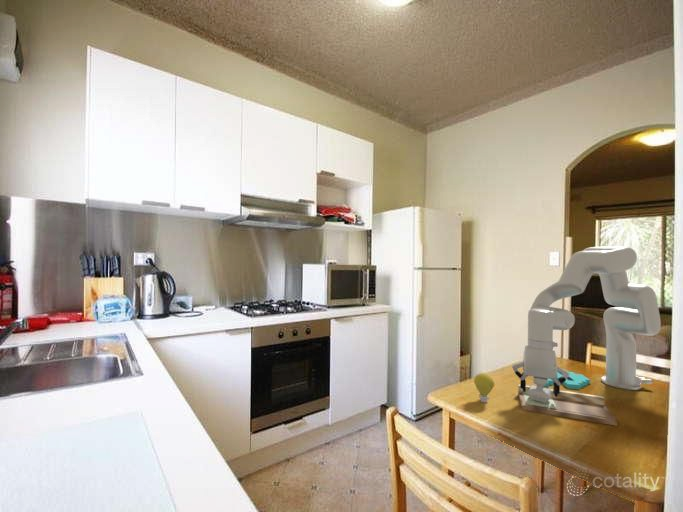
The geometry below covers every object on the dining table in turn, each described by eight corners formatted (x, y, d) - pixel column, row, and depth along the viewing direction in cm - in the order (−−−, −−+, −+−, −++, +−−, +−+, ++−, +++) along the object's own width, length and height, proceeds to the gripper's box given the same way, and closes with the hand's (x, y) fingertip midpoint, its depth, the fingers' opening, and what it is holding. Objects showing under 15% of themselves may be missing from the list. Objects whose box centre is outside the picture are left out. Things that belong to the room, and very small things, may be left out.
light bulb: (486, 406, 114) (486, 378, 114) (469, 399, 120) (470, 372, 120) (498, 402, 118) (498, 374, 118) (481, 395, 123) (481, 368, 123)
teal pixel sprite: (543, 387, 132) (599, 392, 128) (543, 382, 132) (599, 386, 128) (525, 370, 152) (574, 373, 148) (525, 365, 152) (574, 369, 148)
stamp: (531, 393, 121) (531, 370, 121) (552, 398, 117) (552, 375, 117) (526, 402, 114) (527, 378, 114) (549, 407, 110) (549, 382, 110)
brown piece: (602, 407, 114) (602, 396, 114) (617, 425, 102) (617, 412, 102) (518, 394, 124) (518, 384, 124) (522, 409, 112) (522, 398, 112)
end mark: (551, 397, 118) (551, 397, 118) (557, 409, 110) (557, 408, 110) (523, 393, 122) (523, 392, 122) (526, 404, 113) (526, 403, 113)
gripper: (566, 344, 116) (565, 392, 116) (511, 339, 122) (511, 384, 123) (571, 350, 109) (571, 401, 109) (513, 344, 116) (512, 392, 116)
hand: (539, 392), depth 116 cm, fingers open, 9 cm apart
